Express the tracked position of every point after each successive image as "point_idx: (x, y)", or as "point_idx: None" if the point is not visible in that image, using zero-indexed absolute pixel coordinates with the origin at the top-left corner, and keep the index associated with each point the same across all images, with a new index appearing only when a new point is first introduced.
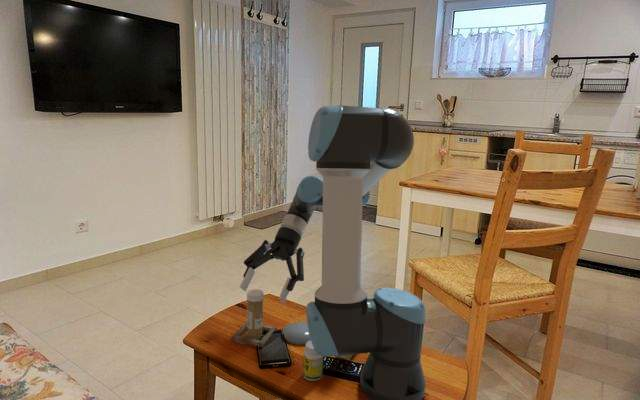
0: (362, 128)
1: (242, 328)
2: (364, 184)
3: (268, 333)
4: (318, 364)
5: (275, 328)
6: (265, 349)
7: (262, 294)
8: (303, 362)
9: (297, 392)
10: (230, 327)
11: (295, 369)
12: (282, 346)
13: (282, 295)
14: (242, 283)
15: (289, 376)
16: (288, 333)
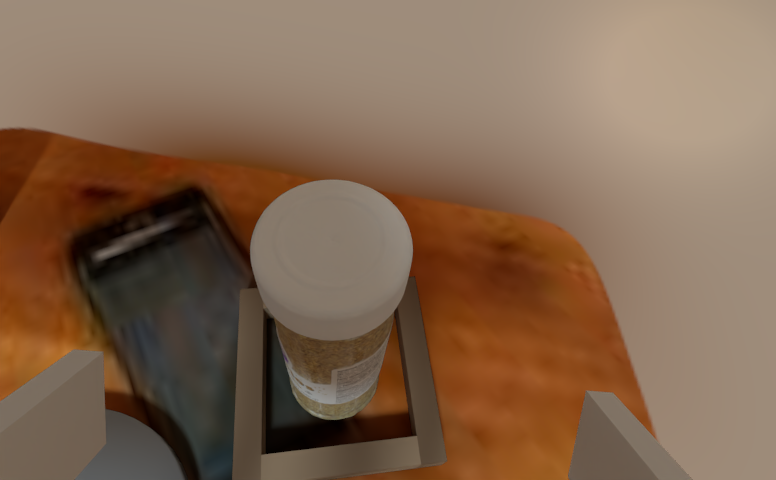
0: None
1: (418, 367)
2: None
3: (253, 391)
4: None
5: (233, 468)
6: (228, 299)
7: (251, 246)
8: None
9: (14, 130)
10: (507, 396)
11: (42, 229)
12: (150, 360)
13: (45, 373)
14: (622, 417)
15: (61, 186)
16: (134, 469)
